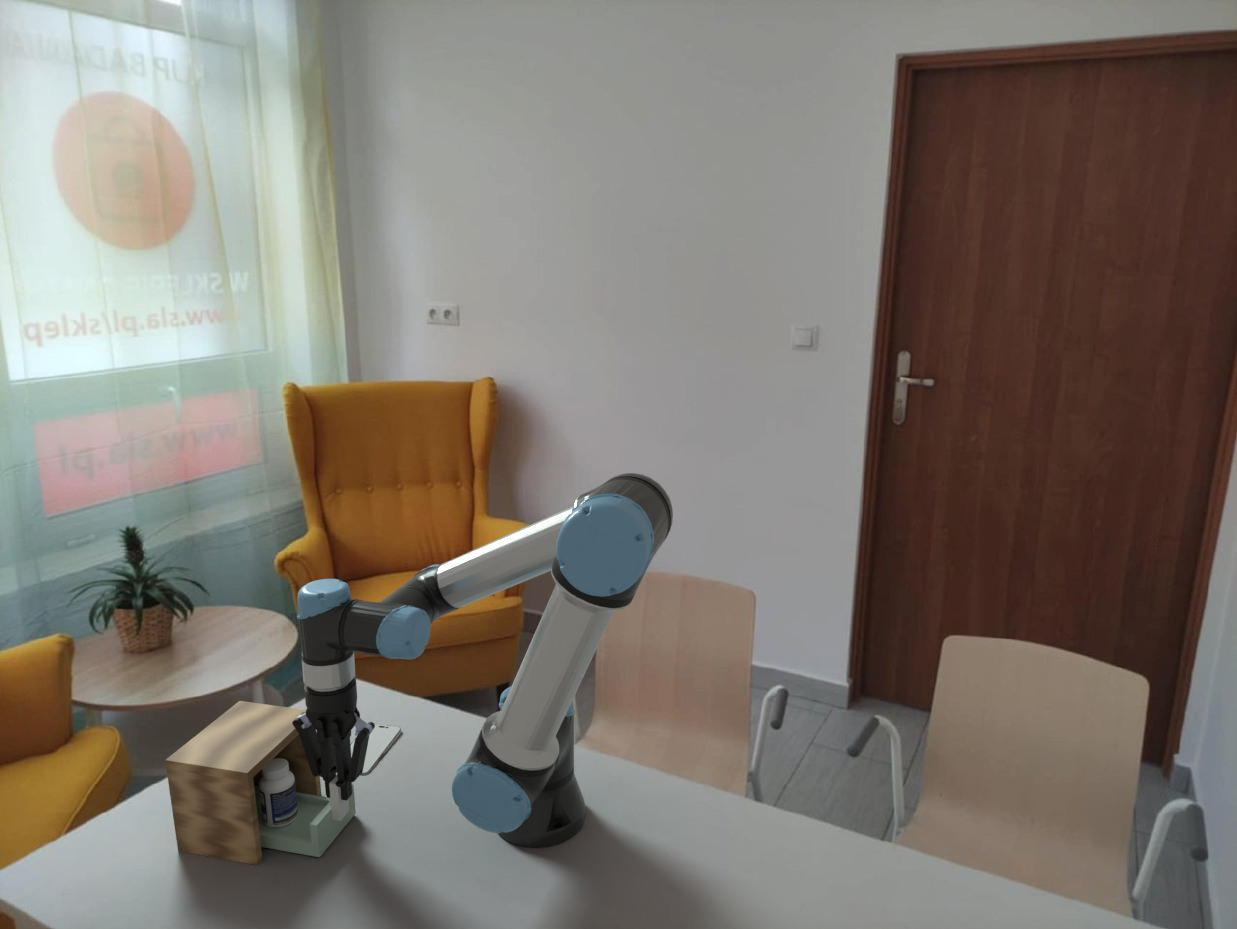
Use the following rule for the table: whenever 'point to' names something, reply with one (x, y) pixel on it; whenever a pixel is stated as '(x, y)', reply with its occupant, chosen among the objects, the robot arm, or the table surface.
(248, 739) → the wooden drawer cabinet
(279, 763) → the pill bottle
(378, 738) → the smartphone
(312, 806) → the tray
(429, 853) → the table surface
